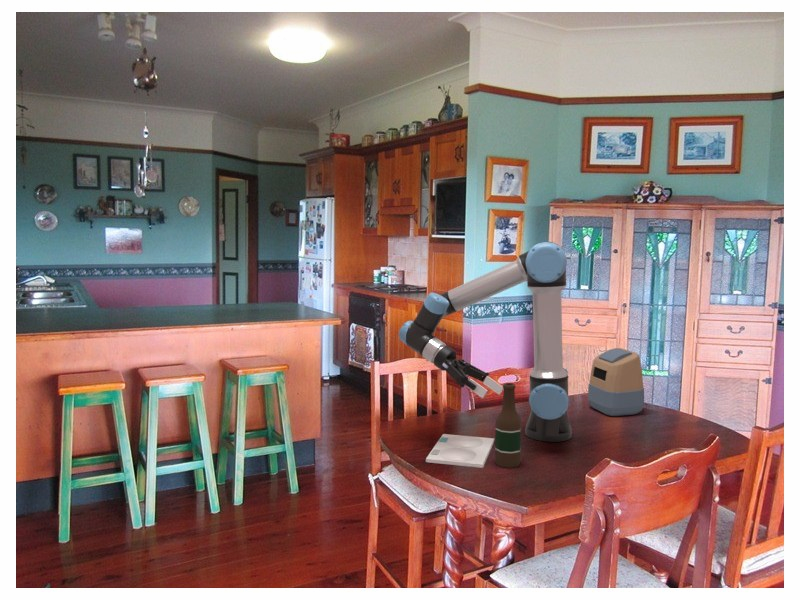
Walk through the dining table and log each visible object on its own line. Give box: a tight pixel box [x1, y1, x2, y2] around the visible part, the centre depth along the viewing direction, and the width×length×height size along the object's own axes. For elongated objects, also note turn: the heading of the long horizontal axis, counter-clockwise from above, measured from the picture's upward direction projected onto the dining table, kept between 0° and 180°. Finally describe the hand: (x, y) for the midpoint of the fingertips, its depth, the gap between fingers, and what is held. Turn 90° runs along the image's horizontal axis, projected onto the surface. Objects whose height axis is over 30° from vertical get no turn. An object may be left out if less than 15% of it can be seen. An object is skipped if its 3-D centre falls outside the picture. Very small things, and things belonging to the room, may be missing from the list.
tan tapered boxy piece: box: [587, 347, 645, 417], centre depth 243 cm, size 17×17×23 cm
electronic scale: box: [425, 433, 495, 469], centre depth 200 cm, size 17×24×1 cm
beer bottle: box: [494, 382, 522, 469], centre depth 189 cm, size 8×8×24 cm
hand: (493, 392), depth 195 cm, fingers open, 13 cm apart
